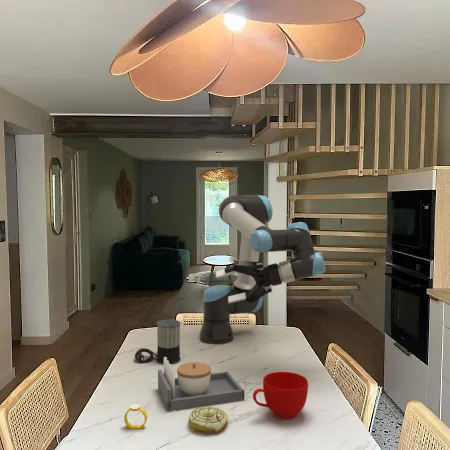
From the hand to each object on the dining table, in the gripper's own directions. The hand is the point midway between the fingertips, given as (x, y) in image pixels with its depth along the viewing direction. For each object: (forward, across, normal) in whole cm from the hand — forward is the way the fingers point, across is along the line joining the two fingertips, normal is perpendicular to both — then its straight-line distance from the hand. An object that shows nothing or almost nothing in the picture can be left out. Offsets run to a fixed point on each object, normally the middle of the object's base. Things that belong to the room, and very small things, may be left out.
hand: (222, 287), depth 157 cm
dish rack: (+12, +11, -33) cm, 37 cm away
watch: (+24, -5, -49) cm, 55 cm away
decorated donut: (+6, +2, -49) cm, 49 cm away
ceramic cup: (-12, +12, -44) cm, 48 cm away
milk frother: (+34, +22, -8) cm, 41 cm away
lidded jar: (+14, +10, -33) cm, 37 cm away
